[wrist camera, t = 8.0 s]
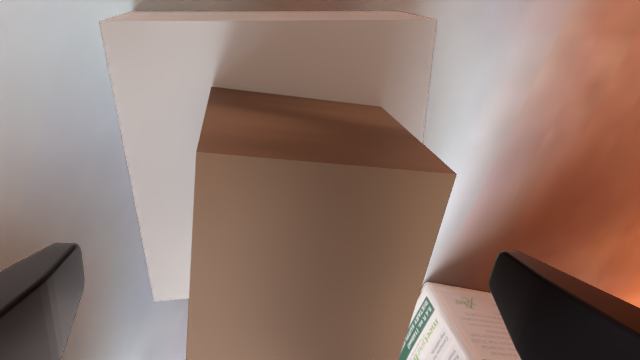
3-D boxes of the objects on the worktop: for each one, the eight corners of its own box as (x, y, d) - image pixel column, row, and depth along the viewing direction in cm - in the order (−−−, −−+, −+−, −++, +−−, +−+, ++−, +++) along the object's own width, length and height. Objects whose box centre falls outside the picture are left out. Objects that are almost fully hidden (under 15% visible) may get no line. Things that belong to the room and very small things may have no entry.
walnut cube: (201, 240, 14) (185, 364, 9) (211, 86, 12) (195, 152, 7) (350, 246, 15) (398, 360, 11) (381, 106, 13) (456, 173, 9)
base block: (171, 238, 18) (153, 301, 15) (134, 10, 14) (98, 21, 11) (377, 222, 20) (406, 277, 16) (393, 10, 16) (436, 19, 12)
